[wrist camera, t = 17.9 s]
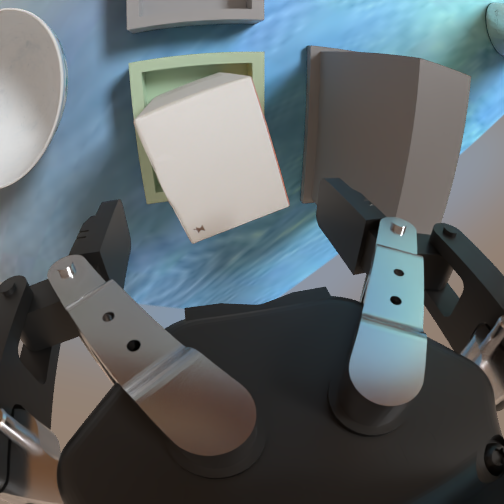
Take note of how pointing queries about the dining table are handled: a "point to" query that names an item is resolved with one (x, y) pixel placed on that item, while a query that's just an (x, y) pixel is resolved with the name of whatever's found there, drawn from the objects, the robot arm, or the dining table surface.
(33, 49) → the chinaware
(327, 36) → the dining table surface
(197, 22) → the grey tray
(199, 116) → the small box
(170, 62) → the sage tray
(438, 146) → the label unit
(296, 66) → the dining table surface
